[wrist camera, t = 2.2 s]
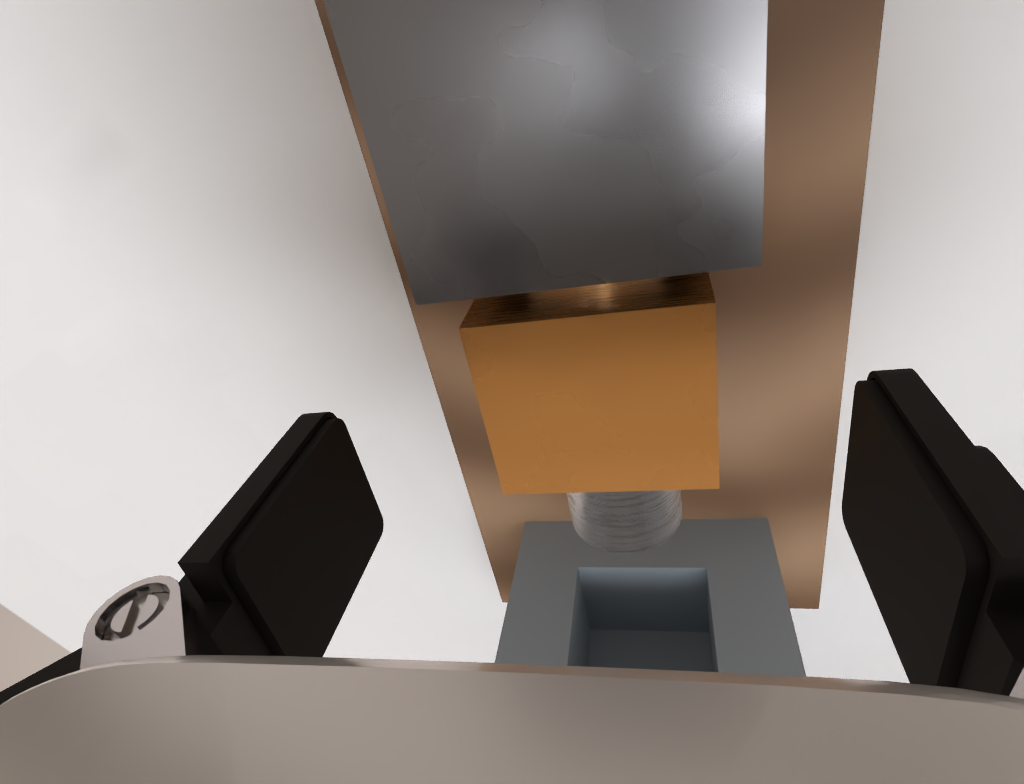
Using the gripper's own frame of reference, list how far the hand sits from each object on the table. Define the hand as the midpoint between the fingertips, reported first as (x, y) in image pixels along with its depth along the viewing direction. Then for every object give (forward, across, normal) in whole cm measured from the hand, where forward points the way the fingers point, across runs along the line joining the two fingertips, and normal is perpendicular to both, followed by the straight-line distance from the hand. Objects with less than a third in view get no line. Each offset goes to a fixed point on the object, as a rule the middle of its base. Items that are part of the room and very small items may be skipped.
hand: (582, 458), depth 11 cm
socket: (+8, 0, +12) cm, 15 cm away
